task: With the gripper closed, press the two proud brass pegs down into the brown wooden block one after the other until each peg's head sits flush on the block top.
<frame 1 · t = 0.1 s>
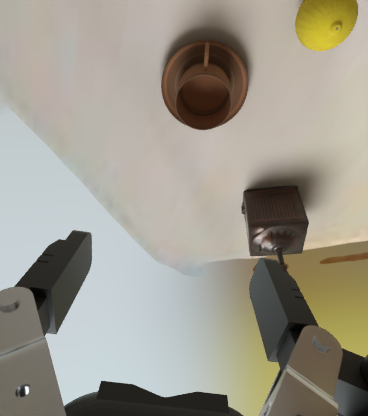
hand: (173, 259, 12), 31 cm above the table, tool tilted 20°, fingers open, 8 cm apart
manual coffee grinder: (267, 212, 56), on the table
lemon: (313, 10, 29), on the table
cup and saucer: (204, 83, 37), on the table
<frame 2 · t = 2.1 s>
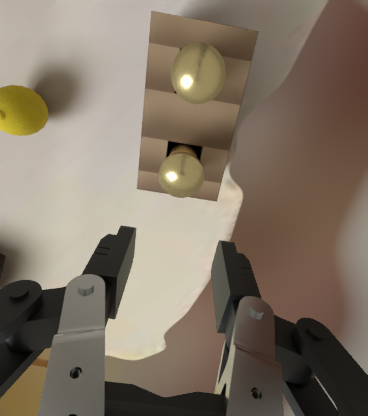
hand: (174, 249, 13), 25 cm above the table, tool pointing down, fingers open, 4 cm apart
brown wooden block: (189, 109, 33), on the table
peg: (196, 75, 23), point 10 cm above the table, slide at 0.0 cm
lemon: (38, 107, 34), on the table
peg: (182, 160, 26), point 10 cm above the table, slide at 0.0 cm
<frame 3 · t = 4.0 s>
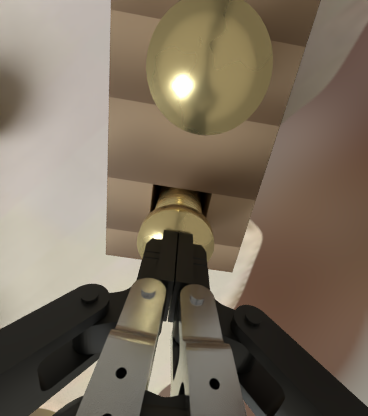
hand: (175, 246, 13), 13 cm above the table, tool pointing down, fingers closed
brown wooden block: (189, 123, 23), on the table
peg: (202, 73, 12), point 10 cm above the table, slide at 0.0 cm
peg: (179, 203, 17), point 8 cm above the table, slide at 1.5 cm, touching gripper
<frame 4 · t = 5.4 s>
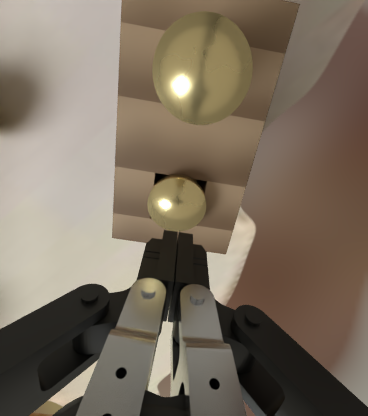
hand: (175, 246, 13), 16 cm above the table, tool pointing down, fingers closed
brown wooden block: (187, 122, 25), on the table
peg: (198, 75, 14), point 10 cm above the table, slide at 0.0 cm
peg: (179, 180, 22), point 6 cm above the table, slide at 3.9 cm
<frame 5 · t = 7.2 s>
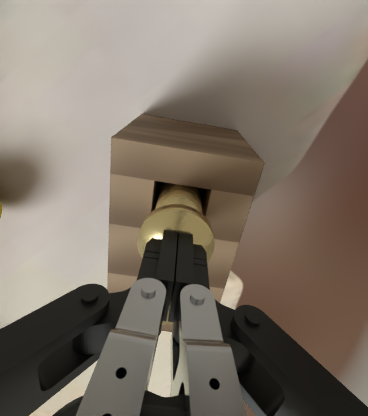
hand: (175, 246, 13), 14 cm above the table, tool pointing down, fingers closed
brown wooden block: (177, 198, 27), on the table
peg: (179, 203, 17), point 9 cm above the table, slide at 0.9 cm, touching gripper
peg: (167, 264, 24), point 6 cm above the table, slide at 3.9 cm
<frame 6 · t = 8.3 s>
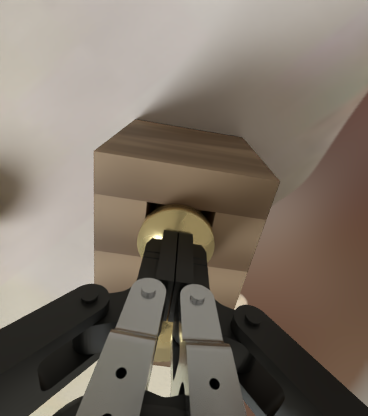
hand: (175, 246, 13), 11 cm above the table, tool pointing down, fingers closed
brown wooden block: (175, 212, 25), on the table
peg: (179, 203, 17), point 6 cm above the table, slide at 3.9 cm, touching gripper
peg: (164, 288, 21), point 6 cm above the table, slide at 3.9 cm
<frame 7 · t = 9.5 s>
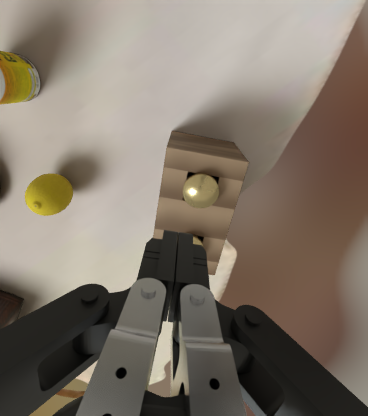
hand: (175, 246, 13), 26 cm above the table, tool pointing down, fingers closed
supplement bottle: (21, 78, 33), on the table
brown wooden block: (192, 188, 39), on the table
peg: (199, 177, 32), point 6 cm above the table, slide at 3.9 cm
lemon: (63, 183, 40), on the table
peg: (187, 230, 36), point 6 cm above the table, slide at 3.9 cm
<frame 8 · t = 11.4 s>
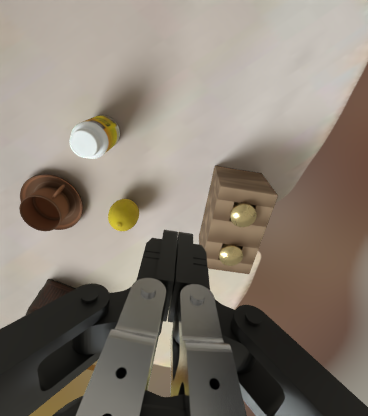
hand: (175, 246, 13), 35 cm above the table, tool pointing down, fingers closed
supplement bottle: (105, 130, 45), on the table
manual coffee grinder: (59, 304, 65), on the table
brown wooden block: (228, 207, 51), on the table
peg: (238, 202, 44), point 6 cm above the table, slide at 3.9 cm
lemon: (128, 204, 52), on the table
cup and saucer: (56, 199, 52), on the table
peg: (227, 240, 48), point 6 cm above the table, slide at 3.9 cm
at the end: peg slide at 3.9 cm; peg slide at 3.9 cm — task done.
